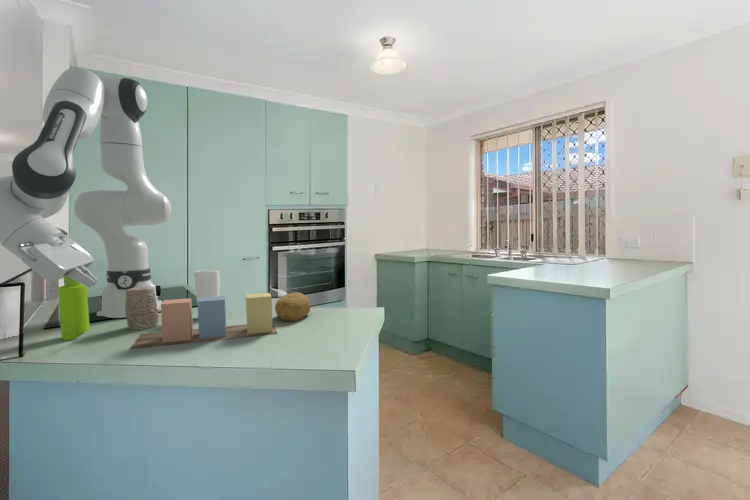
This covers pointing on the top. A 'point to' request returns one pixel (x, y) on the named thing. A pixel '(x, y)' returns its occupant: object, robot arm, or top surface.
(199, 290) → the white rectangular block
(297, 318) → the potato
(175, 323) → the terracotta block
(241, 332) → the walnut board
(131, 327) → the carving
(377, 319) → the top surface
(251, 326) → the ochre block
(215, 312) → the slate block
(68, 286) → the soap dispenser
